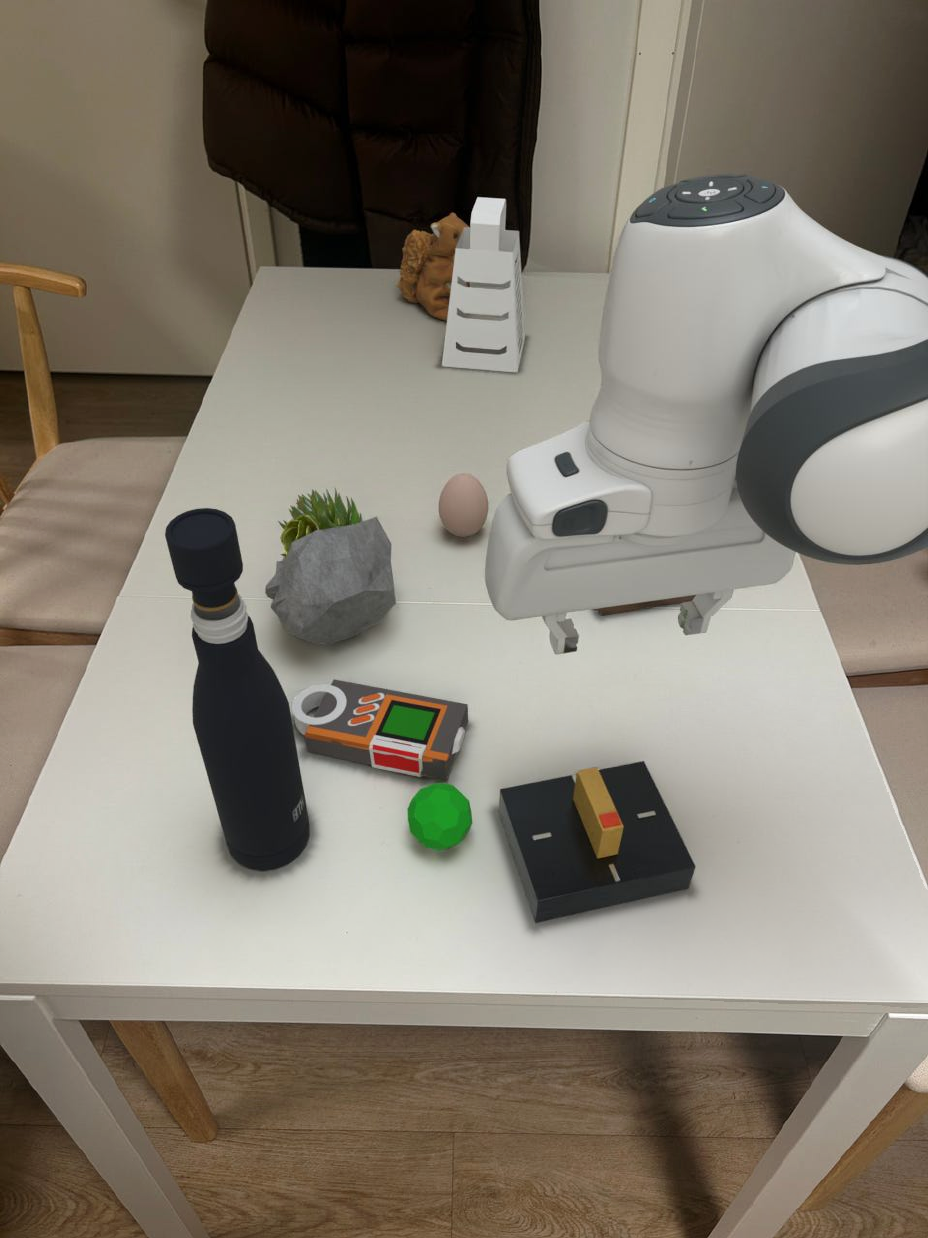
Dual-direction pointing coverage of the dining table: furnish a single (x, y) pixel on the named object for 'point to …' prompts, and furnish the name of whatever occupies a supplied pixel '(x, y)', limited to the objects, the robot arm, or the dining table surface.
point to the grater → (486, 292)
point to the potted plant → (331, 571)
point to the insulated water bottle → (238, 701)
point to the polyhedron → (439, 816)
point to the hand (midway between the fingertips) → (627, 637)
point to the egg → (463, 505)
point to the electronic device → (382, 727)
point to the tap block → (563, 854)
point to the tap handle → (597, 812)
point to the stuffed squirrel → (431, 265)
